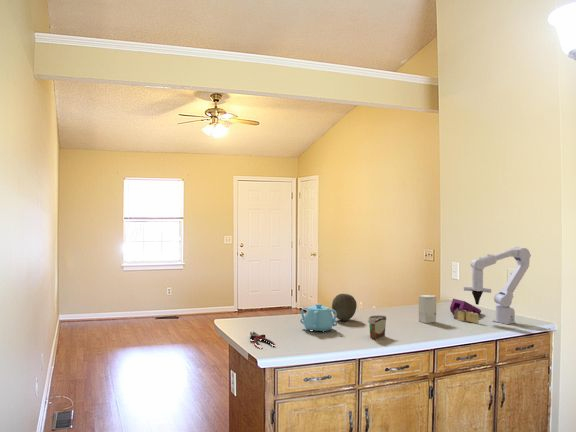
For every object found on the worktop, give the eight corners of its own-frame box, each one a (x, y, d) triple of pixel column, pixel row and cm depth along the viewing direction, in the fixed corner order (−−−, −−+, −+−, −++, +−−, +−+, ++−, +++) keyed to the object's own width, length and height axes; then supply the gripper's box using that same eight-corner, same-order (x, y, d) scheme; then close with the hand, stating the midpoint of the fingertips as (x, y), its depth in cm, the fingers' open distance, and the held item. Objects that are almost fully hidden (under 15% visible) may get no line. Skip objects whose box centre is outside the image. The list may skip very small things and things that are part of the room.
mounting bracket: (468, 321, 302) (448, 311, 295) (472, 309, 303) (453, 298, 296) (480, 325, 293) (460, 314, 286) (484, 312, 295) (464, 301, 288)
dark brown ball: (357, 323, 270) (358, 296, 270) (332, 322, 270) (332, 296, 270) (355, 317, 284) (355, 292, 284) (330, 317, 284) (331, 291, 284)
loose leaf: (479, 322, 273) (480, 313, 273) (474, 323, 270) (474, 314, 270) (462, 318, 282) (462, 310, 282) (457, 319, 279) (457, 311, 279)
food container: (375, 333, 248) (375, 314, 248) (386, 335, 244) (386, 315, 244) (363, 338, 238) (363, 318, 238) (374, 340, 234) (374, 320, 234)
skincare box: (425, 323, 270) (425, 297, 270) (417, 321, 276) (418, 295, 276) (436, 322, 274) (437, 295, 274) (429, 319, 280) (429, 294, 279)
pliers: (276, 343, 222) (260, 329, 242) (259, 345, 219) (243, 330, 239) (276, 349, 222) (259, 335, 242) (258, 351, 219) (243, 336, 239)
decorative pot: (325, 325, 265) (325, 300, 265) (339, 331, 251) (339, 305, 250) (298, 327, 259) (298, 302, 259) (311, 334, 244) (311, 307, 244)
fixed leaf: (466, 320, 278) (466, 310, 278) (464, 321, 277) (464, 310, 277) (456, 318, 284) (456, 308, 284) (453, 318, 283) (454, 308, 283)
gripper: (492, 280, 276) (491, 304, 276) (465, 278, 283) (465, 301, 283) (490, 282, 270) (490, 306, 270) (463, 280, 277) (462, 303, 277)
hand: (477, 304), depth 276 cm, fingers closed
